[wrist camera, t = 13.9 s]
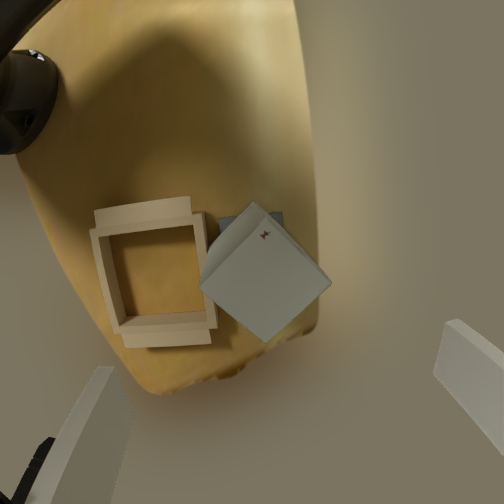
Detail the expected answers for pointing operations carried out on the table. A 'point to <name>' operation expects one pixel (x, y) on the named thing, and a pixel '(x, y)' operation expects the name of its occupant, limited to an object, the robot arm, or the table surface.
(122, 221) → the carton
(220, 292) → the supplement box
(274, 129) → the table surface
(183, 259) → the table surface
